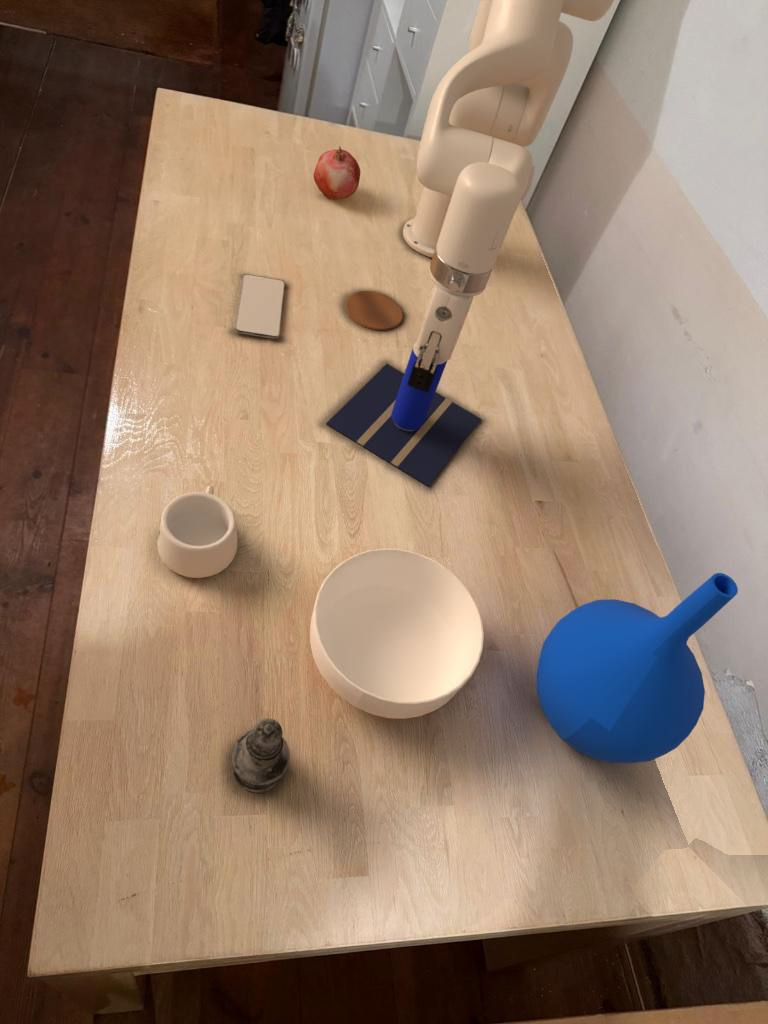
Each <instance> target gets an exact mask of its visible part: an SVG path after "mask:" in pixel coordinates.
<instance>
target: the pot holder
mask: <svg viewBox="0 0 768 1024" xmlns="http://www.w3.org/2000/svg"><path fill="white" fill-rule="evenodd" d="M404 373H405V372H402V371H401V370H399V369H398V368H396V367H394V366H392V365H391V364H389V363H385V365H384V366H383V367H381V368H380V369H379V371H377V372H376V373H375V374H374V375H373V376H372V377H371V378H370V379H369V380H368V381H367V382H366V383H365V384H364V385H363V386H362V387H361V388H360V389H359V390H358V391H357V392H356V393H355V394H354V395H353V396H352V397H351V398H350V399H349V400H348V401H347V402H346V403H345V404H344V405H343V406H342V407H341V408H340V409H339V410H338V411H337V412H336V413H335V414H334V415H333V416H332V417H331V418H330V419H329V420H328V421H327V422H326V423H325V425H326V426H328V427H329V428H331V429H332V430H334V431H336V432H338V433H339V434H341V435H343V436H344V437H346V438H348V439H349V440H351V441H352V442H354V443H355V444H357V445H359V446H360V447H362V448H363V449H365V450H367V451H368V452H370V453H372V454H374V455H375V456H377V457H379V458H380V459H382V460H383V461H385V462H387V463H388V464H390V465H392V466H393V467H395V468H397V469H398V470H400V471H401V472H403V473H404V474H406V475H408V476H410V477H411V478H413V480H416V481H418V482H419V483H421V484H422V485H424V486H426V487H428V488H429V487H430V486H431V484H432V483H433V482H434V480H435V479H436V478H437V477H438V475H439V474H440V473H441V472H442V470H443V469H444V468H445V467H446V465H447V464H448V462H449V461H450V460H451V459H452V458H453V456H455V454H456V453H457V451H458V450H459V449H460V447H461V446H462V445H463V444H464V442H465V441H466V440H467V438H468V437H469V436H470V435H471V433H472V432H473V431H474V430H475V428H477V426H478V424H479V423H480V422H481V421H482V418H481V417H479V416H477V415H476V414H474V413H472V412H471V411H469V410H467V409H465V408H464V407H462V406H460V405H458V404H457V403H455V402H453V401H452V400H450V399H449V398H446V397H445V396H444V395H441V394H440V393H438V392H437V391H436V392H435V395H434V397H433V400H432V403H431V405H430V408H429V410H428V413H427V416H426V418H425V421H424V423H423V425H422V427H421V428H419V429H417V430H414V431H405V430H402V429H400V428H399V427H397V426H396V425H395V423H394V422H393V420H392V417H391V413H392V410H393V407H394V404H395V401H396V398H397V395H398V392H399V389H400V386H401V383H402V379H403V376H404Z"/></svg>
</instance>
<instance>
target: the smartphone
mask: <svg viewBox="0 0 768 1024" xmlns="http://www.w3.org/2000/svg"><path fill="white" fill-rule="evenodd" d="M285 284H286V282H285V281H284V280H282V279H278V278H272V277H267V276H261V275H255V274H249V273H245V274H243V277H242V283H241V289H240V296H239V303H238V309H237V316H236V322H235V327H234V331H235V332H236V333H237V334H241V335H248V336H254V337H261V338H266V339H272V340H277V339H280V332H281V321H282V314H283V313H282V312H283V303H284V296H285V295H284V294H285Z"/></svg>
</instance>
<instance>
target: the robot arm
mask: <svg viewBox="0 0 768 1024" xmlns="http://www.w3.org/2000/svg"><path fill="white" fill-rule="evenodd" d="M614 1H615V0H480V2H479V5H478V7H477V12H476V14H475V18H474V23H473V25H472V29H471V33H470V36H469V41H468V48H467V53H466V54H465V55H463V56H462V57H461V58H460V59H459V60H457V61H456V62H455V63H454V64H453V65H452V66H451V67H450V69H449V70H448V71H447V72H446V73H445V74H444V75H443V77H442V79H441V80H440V81H439V83H438V85H437V87H436V89H435V91H434V92H433V95H432V98H431V100H430V103H429V107H428V110H427V114H426V118H425V122H424V126H423V129H422V134H421V137H420V142H419V146H418V150H417V156H416V164H415V170H416V171H415V172H416V176H417V179H418V181H419V183H420V184H421V185H422V186H423V187H422V190H421V194H420V197H419V202H418V205H417V209H416V212H415V216H414V217H413V218H411V219H408V220H407V221H406V222H405V223H404V224H403V225H404V226H403V228H402V237H403V239H404V241H405V242H406V243H407V245H408V246H409V247H410V248H412V250H414V251H415V252H417V253H419V254H421V255H423V256H425V257H428V258H431V261H430V264H429V267H428V274H429V275H428V276H429V277H430V279H431V281H432V282H433V286H432V289H431V292H430V295H429V298H428V301H427V305H426V308H425V312H424V315H423V317H422V322H421V326H420V330H419V334H418V337H417V340H418V342H417V346H416V347H417V349H418V351H419V350H420V353H419V356H418V359H417V361H416V362H414V365H413V368H412V371H411V374H410V377H409V380H408V383H407V384H408V385H409V386H411V387H413V388H416V389H419V390H421V391H424V392H428V391H429V389H430V386H431V384H432V381H433V378H434V376H435V373H436V369H435V368H436V365H437V362H438V360H439V357H440V359H442V360H445V361H447V362H448V361H450V360H451V358H452V355H453V352H454V350H455V348H456V345H457V342H458V340H459V338H460V334H461V332H462V329H463V328H464V324H465V322H466V319H467V316H468V315H469V311H470V309H471V307H472V303H473V300H474V297H475V296H476V297H477V296H479V295H481V294H483V293H484V291H485V290H486V288H487V285H488V282H489V279H490V278H491V274H492V272H493V269H494V267H495V265H496V262H497V260H498V257H499V254H500V253H501V252H500V251H501V250H502V247H503V244H504V242H505V239H506V237H507V233H508V231H509V229H510V227H511V223H512V221H513V219H514V216H515V214H516V212H517V209H518V207H519V205H520V203H521V201H523V200H525V198H526V196H527V194H528V192H529V190H530V189H531V186H532V184H533V179H534V176H535V170H536V169H535V165H534V158H533V155H532V153H531V152H530V150H528V149H527V148H525V147H528V146H530V145H532V144H533V143H534V142H535V141H536V139H537V137H538V136H539V134H540V132H541V130H542V128H543V126H544V124H545V121H546V119H547V117H548V114H549V112H550V109H551V107H552V105H553V103H554V101H555V98H556V96H557V93H558V92H559V89H560V87H561V85H562V82H563V80H564V78H565V75H566V72H567V70H568V68H569V65H570V62H571V57H572V53H573V47H574V36H573V32H572V29H570V27H569V26H568V25H567V24H566V23H564V22H563V21H560V19H561V15H562V14H565V15H568V16H571V17H574V18H578V19H581V20H584V21H588V22H596V21H599V20H601V19H603V17H605V16H606V14H607V13H608V11H609V10H610V9H611V7H612V5H613V3H614ZM426 343H427V344H428V346H426V345H425V344H426ZM437 347H438V348H439V350H436V348H437ZM423 353H425V354H424V357H423V359H422V356H423ZM433 356H435V360H434V362H433V363H432V359H433Z"/></svg>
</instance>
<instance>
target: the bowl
mask: <svg viewBox="0 0 768 1024" xmlns="http://www.w3.org/2000/svg"><path fill="white" fill-rule="evenodd" d="M309 626H310V627H309V644H310V648H311V649H310V650H311V653H312V657H313V660H314V662H315V665H316V667H317V670H318V672H319V673H320V675H321V676H322V678H323V680H324V681H325V682H326V683H327V685H328V686H329V687H330V688H331V689H332V691H334V692H335V693H336V694H337V695H338V696H339V697H340V698H341V699H342V700H344V701H345V702H347V703H348V704H350V705H351V706H352V707H354V708H356V709H358V710H361V711H363V712H365V713H368V714H370V715H373V716H377V717H381V718H386V719H402V720H403V719H404V720H405V719H411V718H412V719H413V718H417V717H422V716H425V715H427V714H430V713H432V712H435V711H437V710H438V709H440V708H441V707H443V706H444V705H445V704H448V702H450V701H451V699H453V697H455V696H456V695H457V694H458V692H459V691H460V690H461V689H462V688H463V687H465V685H466V683H468V681H469V680H470V679H471V677H472V676H473V674H474V672H475V671H476V668H477V667H478V666H479V663H480V660H481V657H482V654H483V651H484V635H485V633H484V627H483V620H482V616H481V614H480V611H479V608H478V605H477V603H476V601H475V600H474V597H473V596H472V594H471V593H470V591H469V590H468V587H466V586H465V585H464V583H463V582H462V581H461V580H460V578H459V577H457V575H455V574H454V573H453V572H451V570H450V569H448V567H446V566H445V565H443V564H441V563H439V562H438V561H436V560H434V559H432V558H430V557H428V556H425V555H423V554H421V553H419V552H414V551H410V550H407V549H402V548H387V547H386V548H376V549H375V548H374V549H369V550H366V551H363V552H359V553H356V554H354V555H351V556H350V557H348V558H346V559H344V560H343V561H341V562H340V563H339V564H338V565H336V566H335V567H334V568H333V569H332V570H331V571H330V572H329V574H328V575H327V576H326V577H325V578H324V580H323V581H322V583H321V586H320V587H319V589H318V591H317V594H316V598H315V601H314V605H313V610H312V614H311V618H310V625H309Z"/></svg>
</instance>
